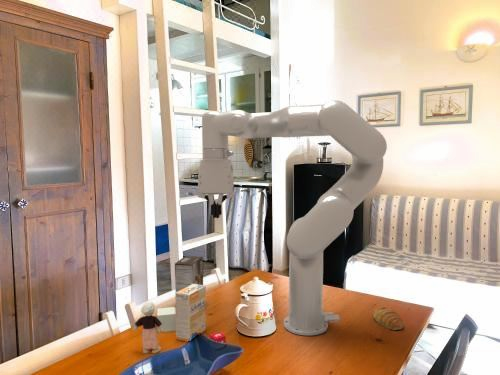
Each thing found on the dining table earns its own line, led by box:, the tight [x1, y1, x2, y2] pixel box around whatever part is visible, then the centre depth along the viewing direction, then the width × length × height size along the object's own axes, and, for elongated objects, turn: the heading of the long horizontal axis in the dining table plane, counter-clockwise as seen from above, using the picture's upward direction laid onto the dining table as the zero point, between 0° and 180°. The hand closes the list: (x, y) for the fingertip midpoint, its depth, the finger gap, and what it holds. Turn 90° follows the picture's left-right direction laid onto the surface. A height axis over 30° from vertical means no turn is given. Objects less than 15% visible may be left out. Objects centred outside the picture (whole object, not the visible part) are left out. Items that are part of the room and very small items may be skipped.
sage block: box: [156, 306, 176, 334], centre depth 108 cm, size 5×5×5 cm
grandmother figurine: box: [133, 301, 165, 354], centre depth 95 cm, size 8×4×13 cm, turn 98°
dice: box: [209, 331, 227, 344], centre depth 97 cm, size 3×3×3 cm
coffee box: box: [174, 255, 204, 293], centre depth 121 cm, size 9×6×16 cm
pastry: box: [372, 306, 405, 331], centre depth 109 cm, size 9×7×4 cm
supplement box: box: [174, 284, 207, 343], centre depth 103 cm, size 8×5×13 cm, turn 154°
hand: (216, 217), depth 111 cm, fingers closed
